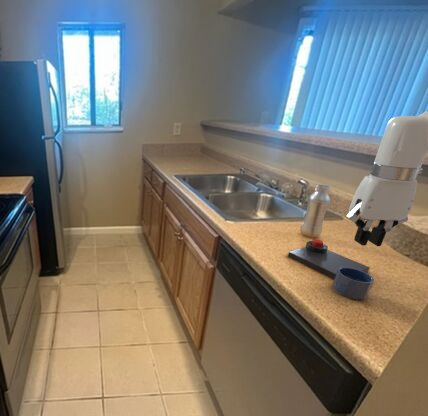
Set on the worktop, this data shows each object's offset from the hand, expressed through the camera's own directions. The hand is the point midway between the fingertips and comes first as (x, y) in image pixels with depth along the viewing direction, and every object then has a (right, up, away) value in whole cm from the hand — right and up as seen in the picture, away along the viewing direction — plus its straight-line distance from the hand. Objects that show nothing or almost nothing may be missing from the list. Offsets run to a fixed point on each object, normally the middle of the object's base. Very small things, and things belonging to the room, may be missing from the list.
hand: (367, 242), depth 69 cm
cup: (0, -14, +5) cm, 15 cm away
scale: (+4, -9, +18) cm, 21 cm away
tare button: (+5, -4, +23) cm, 24 cm away
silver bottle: (+13, -2, +37) cm, 39 cm away
